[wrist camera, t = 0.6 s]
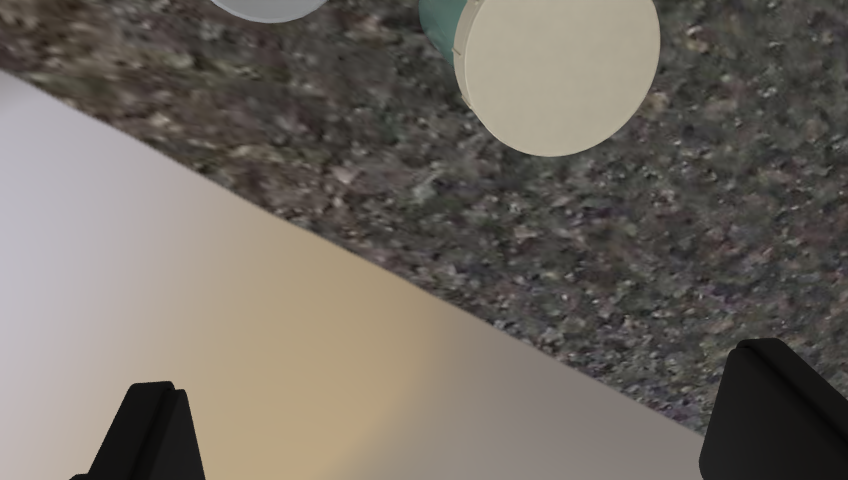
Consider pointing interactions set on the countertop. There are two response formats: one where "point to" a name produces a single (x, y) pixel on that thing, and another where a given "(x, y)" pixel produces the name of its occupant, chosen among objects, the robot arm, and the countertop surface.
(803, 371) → the robot arm
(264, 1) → the canned food
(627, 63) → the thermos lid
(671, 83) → the countertop surface
